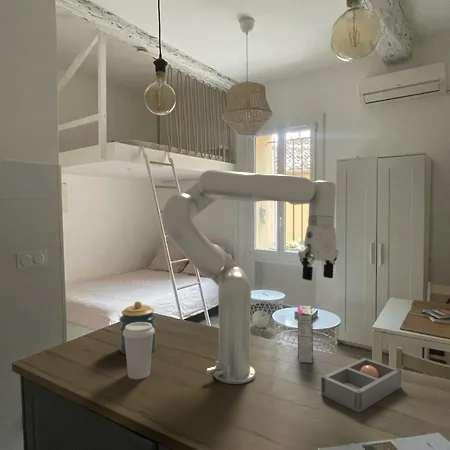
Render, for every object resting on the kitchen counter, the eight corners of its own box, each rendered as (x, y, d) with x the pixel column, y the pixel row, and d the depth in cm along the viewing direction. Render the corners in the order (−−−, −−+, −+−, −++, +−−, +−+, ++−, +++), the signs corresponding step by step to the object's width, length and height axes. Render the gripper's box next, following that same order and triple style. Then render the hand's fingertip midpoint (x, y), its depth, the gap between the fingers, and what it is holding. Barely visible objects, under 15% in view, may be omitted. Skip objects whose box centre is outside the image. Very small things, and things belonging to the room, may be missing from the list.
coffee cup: (161, 371, 109) (160, 323, 109) (141, 384, 100) (141, 332, 100) (136, 365, 113) (136, 319, 113) (115, 378, 104) (115, 328, 104)
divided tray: (358, 412, 86) (359, 393, 86) (321, 394, 95) (321, 376, 95) (400, 387, 99) (401, 370, 99) (364, 373, 108) (364, 357, 108)
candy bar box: (297, 350, 126) (297, 305, 126) (311, 351, 125) (311, 305, 125) (297, 362, 115) (297, 313, 115) (313, 364, 114) (313, 314, 114)
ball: (375, 391, 97) (370, 379, 95) (359, 383, 101) (354, 372, 99) (383, 376, 99) (379, 365, 97) (367, 370, 103) (362, 359, 101)
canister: (163, 347, 129) (163, 300, 128) (137, 359, 118) (137, 307, 117) (138, 340, 136) (138, 295, 135) (111, 351, 125) (111, 302, 124)
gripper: (311, 221, 97) (308, 283, 98) (348, 223, 107) (345, 278, 108) (291, 220, 103) (288, 278, 104) (328, 222, 114) (325, 275, 114)
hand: (317, 278), depth 106 cm, fingers open, 9 cm apart
